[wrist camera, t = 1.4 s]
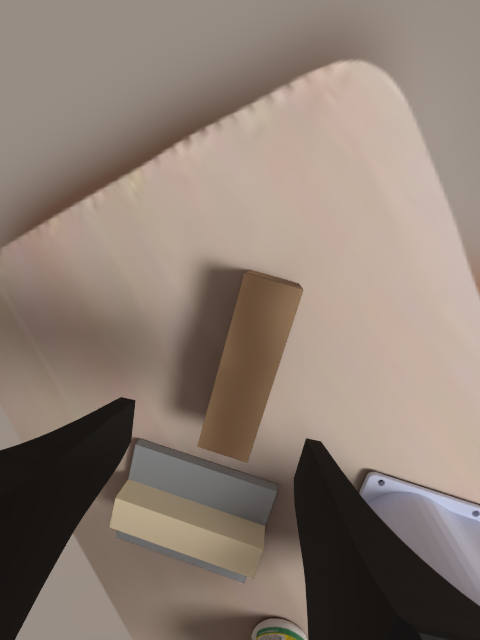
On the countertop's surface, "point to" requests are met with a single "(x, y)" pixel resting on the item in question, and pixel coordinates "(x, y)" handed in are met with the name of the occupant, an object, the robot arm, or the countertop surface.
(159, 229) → the countertop surface
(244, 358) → the walnut bar
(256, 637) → the supplement bottle
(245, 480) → the board
